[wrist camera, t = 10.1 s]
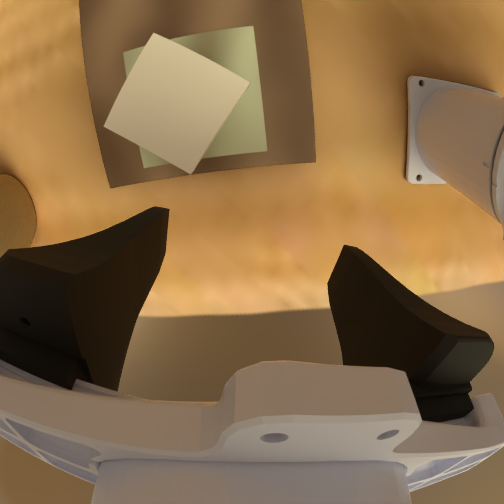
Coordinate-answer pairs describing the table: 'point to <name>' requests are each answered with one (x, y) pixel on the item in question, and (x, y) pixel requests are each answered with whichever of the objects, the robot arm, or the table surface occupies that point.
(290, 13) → the post board
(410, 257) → the table surface
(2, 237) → the plant pot
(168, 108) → the beige stacked cube
